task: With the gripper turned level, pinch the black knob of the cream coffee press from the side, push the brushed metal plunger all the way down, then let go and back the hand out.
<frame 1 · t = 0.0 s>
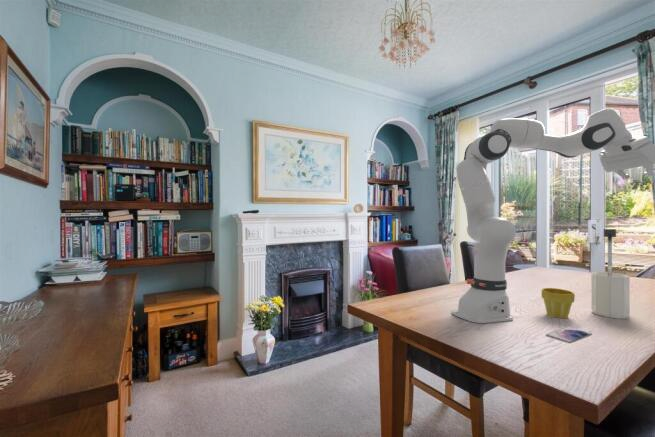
hand: (638, 177, 116), 54 cm above the table, tool tilted 30°, fingers open, 8 cm apart
plant pot: (557, 316, 117), on the table
smartphone: (569, 336, 98), on the table
plunger: (609, 256, 118), point 23 cm above the table, slide at 10.0 cm
press carafe: (609, 314, 118), on the table
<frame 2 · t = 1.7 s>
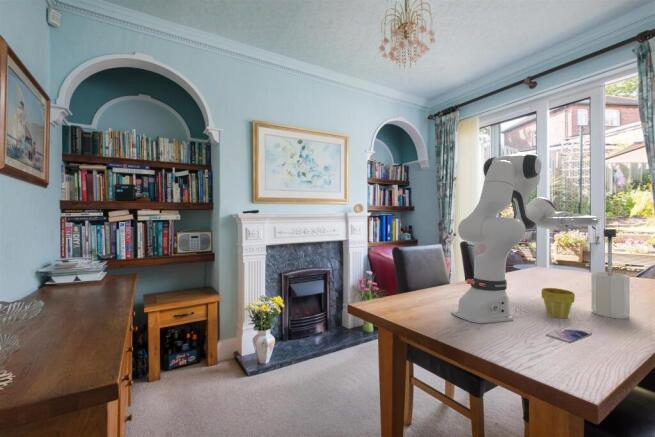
hand: (585, 221, 130), 37 cm above the table, tool horizontal, fingers open, 8 cm apart
nothing on the table moved.
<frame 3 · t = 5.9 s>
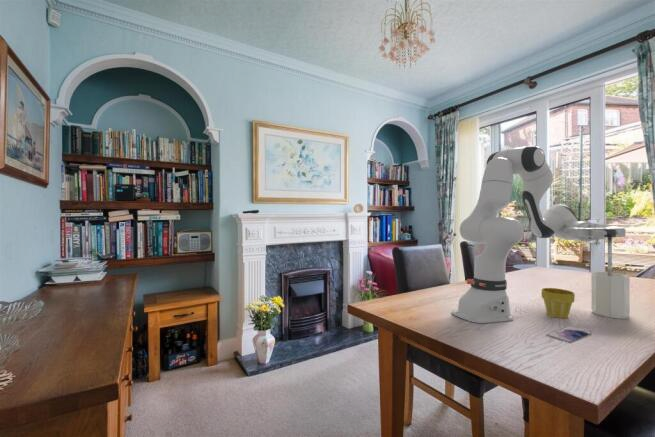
hand: (611, 233, 117), 32 cm above the table, tool horizontal, fingers closed on plunger, 4 cm apart
plunger: (609, 256, 118), point 23 cm above the table, slide at 10.0 cm, touching gripper
everything else where it was.
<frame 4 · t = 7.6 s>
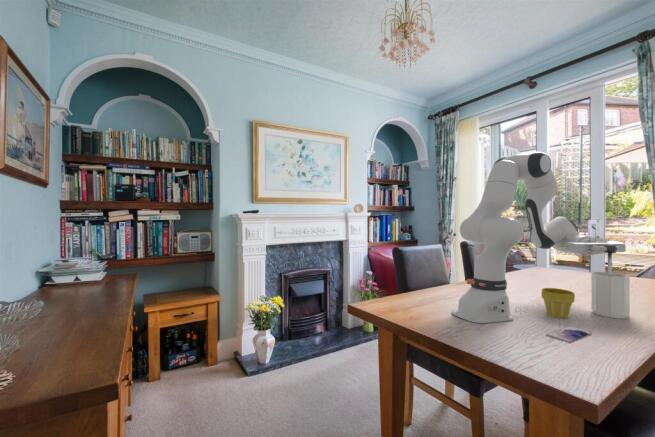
hand: (611, 249, 117), 26 cm above the table, tool horizontal, fingers closed on plunger, 4 cm apart
plunger: (609, 272, 118), point 17 cm above the table, slide at 3.7 cm, touching gripper
everything else where it was.
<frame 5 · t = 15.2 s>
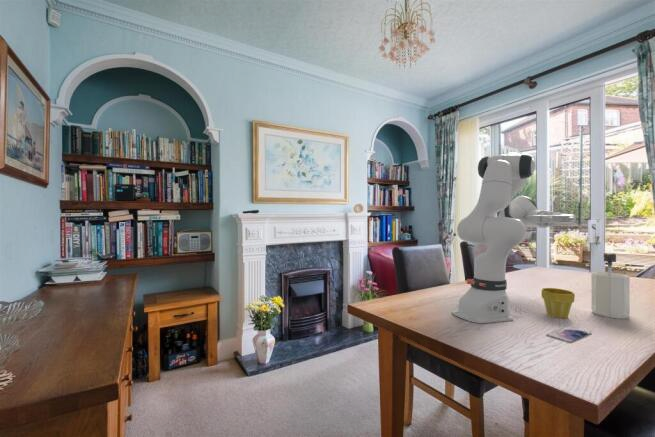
hand: (562, 219, 136), 38 cm above the table, tool horizontal, fingers open, 8 cm apart
plunger: (609, 281, 118), point 13 cm above the table, slide at 0.2 cm
everything else where it was.
at the end: plunger slide at 0.2 cm; the gripper is holding nothing; plant pot moved 0.2 cm from its start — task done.
